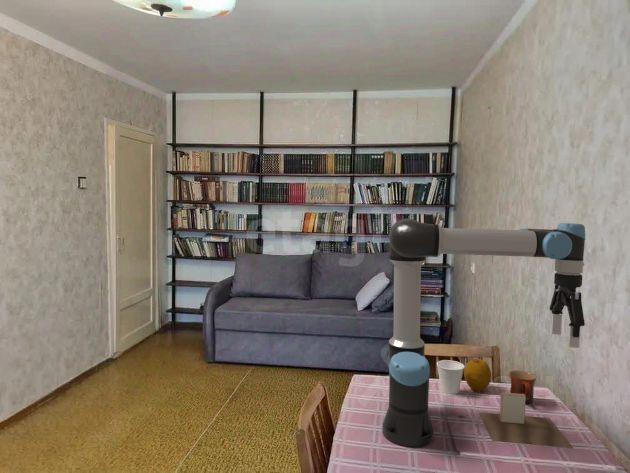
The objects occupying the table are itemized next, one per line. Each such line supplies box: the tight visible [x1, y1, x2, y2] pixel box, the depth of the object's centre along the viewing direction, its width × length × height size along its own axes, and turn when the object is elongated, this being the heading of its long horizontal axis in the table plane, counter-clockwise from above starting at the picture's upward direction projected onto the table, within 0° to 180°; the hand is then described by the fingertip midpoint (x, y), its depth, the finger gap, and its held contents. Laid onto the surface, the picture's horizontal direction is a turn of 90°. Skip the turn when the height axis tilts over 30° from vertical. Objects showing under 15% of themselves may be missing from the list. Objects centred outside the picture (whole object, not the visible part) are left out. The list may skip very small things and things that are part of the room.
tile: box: [499, 391, 526, 424], centre depth 138 cm, size 7×2×9 cm, turn 81°
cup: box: [436, 359, 466, 395], centre depth 161 cm, size 10×10×11 cm
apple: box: [463, 358, 492, 392], centre depth 166 cm, size 10×10×12 cm
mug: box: [508, 369, 538, 406], centre depth 153 cm, size 12×9×10 cm
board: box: [478, 411, 574, 449], centre depth 134 cm, size 22×18×1 cm
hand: (564, 340), depth 137 cm, fingers open, 13 cm apart
